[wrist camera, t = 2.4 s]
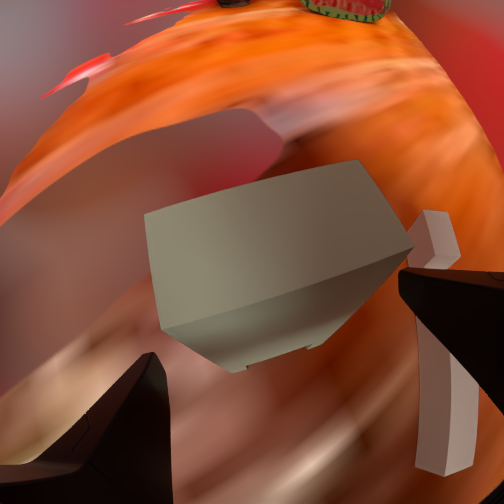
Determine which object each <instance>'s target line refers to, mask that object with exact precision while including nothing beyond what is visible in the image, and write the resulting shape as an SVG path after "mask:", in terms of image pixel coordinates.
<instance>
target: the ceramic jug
mask: <svg viewBox="0 0 504 504" xmlns="http://www.w3.org/2000/svg"><path fill="white" fill-rule="evenodd" d="M217 1H218V2H219V4H220V5H221V7H229V8H230V7H240V6H246V5H248V4H249V2H250V0H217Z"/></svg>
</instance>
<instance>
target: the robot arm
mask: <svg viewBox="0 0 504 504" xmlns="http://www.w3.org/2000/svg"><path fill="white" fill-rule="evenodd" d="M398 288H399V294H400V296H401V298H402V299H403V300H404V301H405V303H406V304H407V305H408V306H409V307H410V309H411V310H412V311H413V312H414V314H415V315H416V316H417V318H418V319H419V320H420V321H421V322H422V323H423V325H424V326H425V327H426V328H427V329H428V330H429V331H430V332H431V333H432V334H433V335H434V336H435V337H436V338H437V339H438V340H439V341H440V342H441V343H442V344H443V345H444V347H445V348H446V349H447V350H448V351H449V352H450V353H451V354H452V355H453V356H454V357H455V358H456V360H457V361H458V362H459V363H460V364H461V365H462V366H463V367H464V368H465V370H466V371H467V372H468V373H469V374H470V375H471V376H472V377H473V379H474V380H475V381H476V382H477V383H478V384H479V386H480V387H481V388H482V389H483V390H484V391H485V393H486V394H488V396H489V398H490V399H491V400H492V401H493V403H494V404H495V405H496V406H497V407H498V409H499V410H500V411H501V413H502V414H503V415H504V272H485V271H467V270H449V269H432V268H414V267H407V268H404V269H402V270H400V271H399V273H398ZM0 504H173V490H172V471H171V432H170V405H169V396H168V387H167V377H166V372H165V370H164V368H163V366H162V364H161V362H160V360H159V359H158V357H157V355H156V354H155V353H154V352H149V353H145V354H143V355H141V356H140V358H139V359H138V360H137V361H136V362H135V363H134V364H133V365H132V366H131V367H130V368H129V369H128V370H127V371H126V372H125V373H124V374H123V375H122V376H121V377H120V378H119V379H118V380H117V381H116V382H115V383H114V384H113V385H112V386H111V387H110V388H109V389H108V390H107V391H106V392H105V393H104V394H103V395H102V396H101V397H100V398H99V399H98V401H97V402H96V403H95V404H94V405H93V406H92V407H91V408H90V409H89V410H88V411H87V412H86V414H84V415H83V416H82V417H81V418H80V419H79V420H78V421H77V422H76V423H75V424H74V425H73V426H72V427H71V428H70V429H69V430H68V431H67V432H66V433H65V434H63V435H62V436H61V437H60V438H59V439H58V440H57V441H56V442H54V443H53V444H52V445H51V446H50V447H49V448H47V449H46V450H45V451H44V452H43V453H42V454H41V455H39V456H38V457H37V458H36V459H34V460H33V461H31V462H29V463H26V464H21V465H0ZM478 504H504V480H503V481H502V482H501V483H500V484H499V485H498V486H497V487H496V488H495V489H494V490H493V491H492V492H491V493H489V494H488V495H487V496H486V497H485V498H484V499H483V500H482V501H481V502H479V503H478Z"/></svg>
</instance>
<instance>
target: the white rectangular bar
mask: <svg viewBox="0 0 504 504" xmlns="http://www.w3.org/2000/svg"><path fill="white" fill-rule="evenodd" d="M407 233H408V235H409V236H410V238H411V240H412V242H413V243H414V245H415V247H414V248H413V250H412V251H411V252H410V253H409V254H408V255H407V261H408V267H414V268H432V269H448V268H449V267H450V266H451V265H452V264H453V263H454V262H456V261H457V260H458V259H459V258H460V257H461V255H460V251H459V247H458V244H457V240H456V237H455V233H454V230H453V227H452V224H451V221H450V218H449V215H448V212H442V211H433V210H425V209H423V210H422V211H421V213H420V214H419V216H418V217H417V219H416V220H415V222H414V223H413V224H412V226H411V227H410V229H409V230H408V231H407ZM415 316H416V315H415ZM416 326H417V337H418V352H419V382H420V397H419V426H418V440H417V451H416V460H415V467H417V468H420V469H423V470H426V471H429V472H431V473H434V474H437V475H440V476H444V477H445V476H448V475H450V474H453V473H456V472H458V471H461V470H463V469H465V468H468V467H470V466H472V465H473V461H474V454H475V446H476V436H477V424H478V400H479V384H478V383H477V382H476V381H475V380H474V379H473V377H472V376H471V375H470V374H469V373H468V372H467V371H466V370H465V368H464V367H463V366H462V365H461V364H460V363H459V362H458V361H457V360H456V358H455V357H454V356H453V355H452V354H451V353H450V352H449V351H448V350H447V349H446V348H445V347H444V345H443V344H442V343H441V342H440V341H439V340H438V339H437V338H436V337H435V336H434V335H433V334H432V333H431V332H430V331H429V330H428V329H427V328H426V327H425V326H424V325H423V323H422V322H421V321H420V320H419V319H418V318H417V316H416Z"/></svg>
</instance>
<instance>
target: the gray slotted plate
mask: <svg viewBox="0 0 504 504" xmlns="http://www.w3.org/2000/svg"><path fill="white" fill-rule="evenodd" d="M144 219H145V228H146V237H147V245H148V253H149V261H150V268H151V275H152V281H153V287H154V293H155V299H156V305H157V310H158V315H159V321H160V326H161V330H163V331H164V332H166V333H167V334H169V335H170V336H172V337H173V338H175V339H176V340H178V341H179V342H181V343H182V344H184V345H185V346H187V347H189V348H190V349H192V350H193V351H195V352H197V353H198V354H200V355H202V356H203V357H205V358H207V359H208V360H210V361H212V362H213V363H215V364H217V365H218V366H220V367H222V368H224V369H225V370H227V371H229V372H231V373H232V374H233V373H237V372H240V371H244V370H247V365H250V364H253V363H257V362H260V361H263V360H266V359H269V358H272V357H275V356H279V355H282V354H284V353H287V352H290V351H293V350H296V349H299V348H302V347H304V346H306V348H307V350H308V349H310V348H313V347H316V346H318V345H321V344H322V343H323V342H324V341H325V340H327V339H328V338H329V337H330V336H331V335H332V334H333V333H334V332H335V331H336V330H337V329H338V328H339V327H340V326H341V325H343V324H344V323H345V322H346V321H347V320H348V319H349V318H350V317H351V316H352V315H353V314H354V313H355V312H356V311H357V310H358V309H359V308H360V307H361V306H362V305H363V304H364V303H365V302H366V301H367V300H368V299H369V297H370V296H371V295H372V294H373V293H374V292H375V291H376V290H377V289H378V288H379V287H380V286H381V285H382V284H383V283H384V282H385V280H386V279H387V278H388V277H389V276H390V275H391V274H392V273H393V272H394V270H395V269H396V268H397V267H398V266H399V265H400V264H401V262H402V261H403V260H404V259H405V258H406V257H407V255H408V254H409V253H410V252H411V251H412V250H413V248H414V247H415V245H414V243H413V242H412V240H411V238H410V236H409V235H408V233H407V231H406V230H405V228H404V226H403V225H402V223H401V221H400V220H399V218H398V217H397V215H396V213H395V212H394V210H393V209H392V207H391V206H390V204H389V202H388V201H387V199H386V198H385V196H384V195H383V193H382V192H381V190H380V189H379V188H378V186H377V185H376V183H375V182H374V180H373V179H372V177H371V176H370V175H369V173H368V172H367V170H366V169H365V168H364V166H363V165H362V164H361V162H360V161H359V160H358V159H355V160H350V161H345V162H340V163H335V164H330V165H325V166H320V167H315V168H311V169H306V170H302V171H297V172H293V173H289V174H284V175H280V176H276V177H272V178H268V179H264V180H260V181H256V182H252V183H248V184H245V185H241V186H237V187H233V188H230V189H226V190H222V191H219V192H215V193H212V194H208V195H205V196H201V197H198V198H194V199H191V200H188V201H184V202H181V203H178V204H175V205H172V206H168V207H166V208H162V209H159V210H156V211H153V212H150V213H147V214H144Z"/></svg>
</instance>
